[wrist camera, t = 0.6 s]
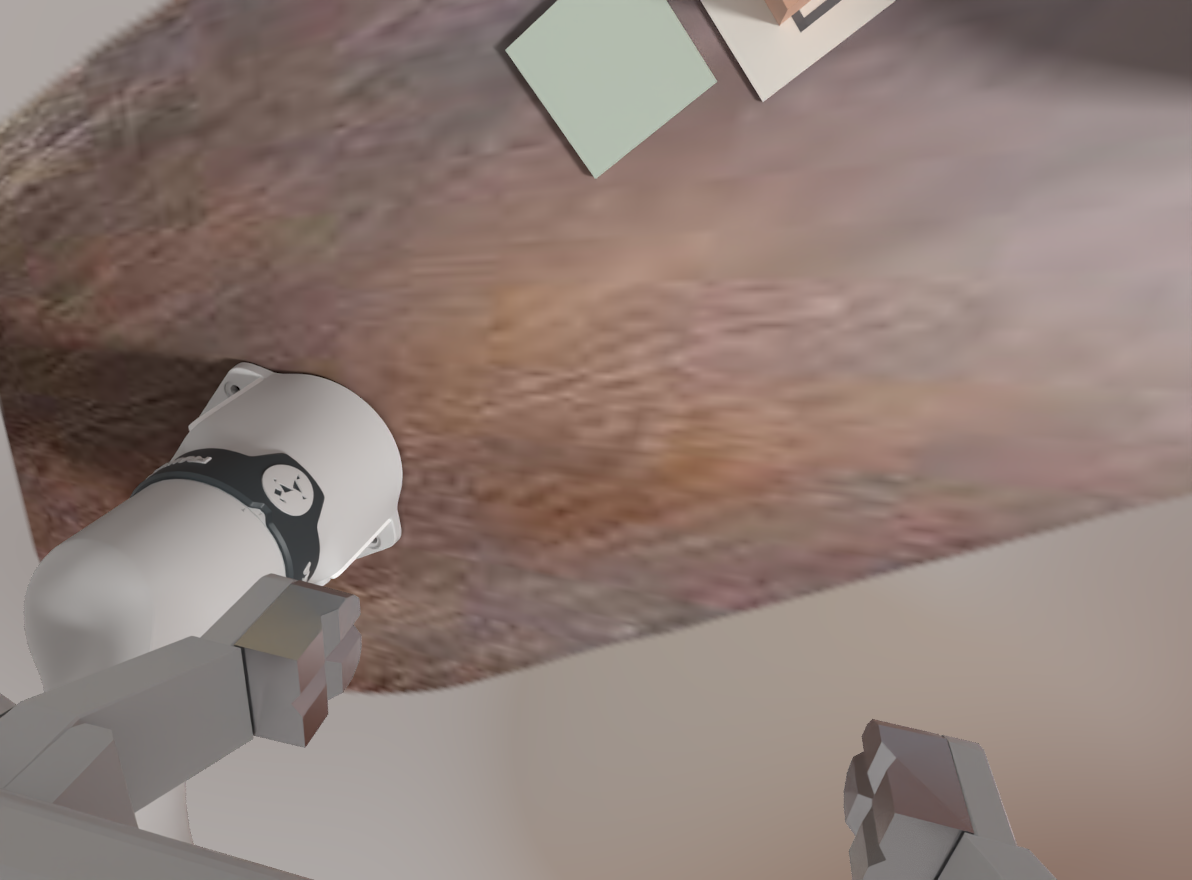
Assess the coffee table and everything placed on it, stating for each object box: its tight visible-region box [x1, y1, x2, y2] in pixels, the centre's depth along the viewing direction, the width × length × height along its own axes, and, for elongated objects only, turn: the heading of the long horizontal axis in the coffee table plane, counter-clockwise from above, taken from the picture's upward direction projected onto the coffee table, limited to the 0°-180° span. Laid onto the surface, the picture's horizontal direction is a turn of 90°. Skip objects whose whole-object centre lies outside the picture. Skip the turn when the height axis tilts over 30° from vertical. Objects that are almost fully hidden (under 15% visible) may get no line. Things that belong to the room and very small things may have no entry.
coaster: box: [505, 0, 717, 179], centre depth 43 cm, size 9×9×1 cm
